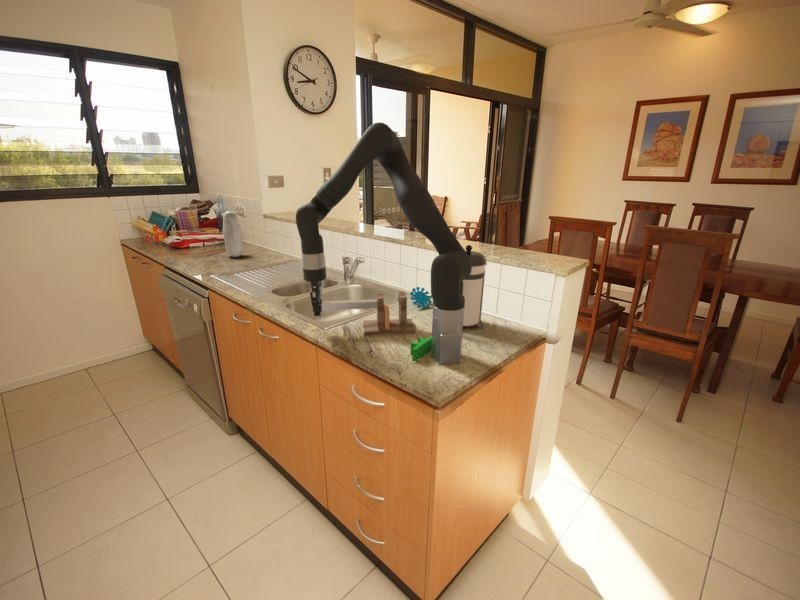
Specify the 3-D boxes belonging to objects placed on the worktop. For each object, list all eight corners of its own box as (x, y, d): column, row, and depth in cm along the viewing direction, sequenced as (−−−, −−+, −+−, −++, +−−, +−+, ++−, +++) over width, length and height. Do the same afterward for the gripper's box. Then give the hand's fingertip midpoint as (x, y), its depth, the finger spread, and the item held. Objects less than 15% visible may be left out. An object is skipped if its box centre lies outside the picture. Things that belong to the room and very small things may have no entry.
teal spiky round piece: (415, 307, 151) (408, 286, 154) (408, 314, 155) (402, 292, 159) (437, 306, 156) (430, 285, 160) (430, 312, 161) (424, 292, 165)
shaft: (379, 309, 131) (379, 300, 130) (312, 311, 128) (312, 303, 127) (378, 306, 134) (378, 297, 133) (313, 308, 131) (313, 299, 130)
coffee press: (450, 313, 150) (454, 238, 140) (489, 321, 143) (496, 243, 132) (431, 328, 136) (434, 247, 126) (472, 338, 129) (479, 253, 118)
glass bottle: (245, 257, 232) (239, 211, 223) (227, 259, 228) (220, 212, 218) (243, 254, 240) (236, 209, 231) (225, 255, 236) (218, 210, 226)
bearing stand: (415, 333, 132) (416, 298, 127) (364, 336, 130) (363, 300, 125) (411, 322, 141) (411, 289, 137) (363, 324, 139) (362, 290, 135)
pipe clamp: (424, 346, 124) (424, 333, 122) (433, 349, 122) (434, 336, 120) (405, 359, 115) (405, 346, 114) (415, 362, 113) (415, 349, 112)
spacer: (389, 329, 132) (389, 310, 129) (384, 329, 132) (384, 311, 129) (387, 321, 138) (387, 303, 136) (383, 321, 138) (383, 303, 136)
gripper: (323, 271, 118) (327, 321, 124) (326, 259, 131) (330, 305, 137) (299, 271, 117) (304, 322, 123) (305, 260, 130) (309, 306, 137)
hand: (318, 313), depth 130 cm, fingers closed on shaft, 3 cm apart
